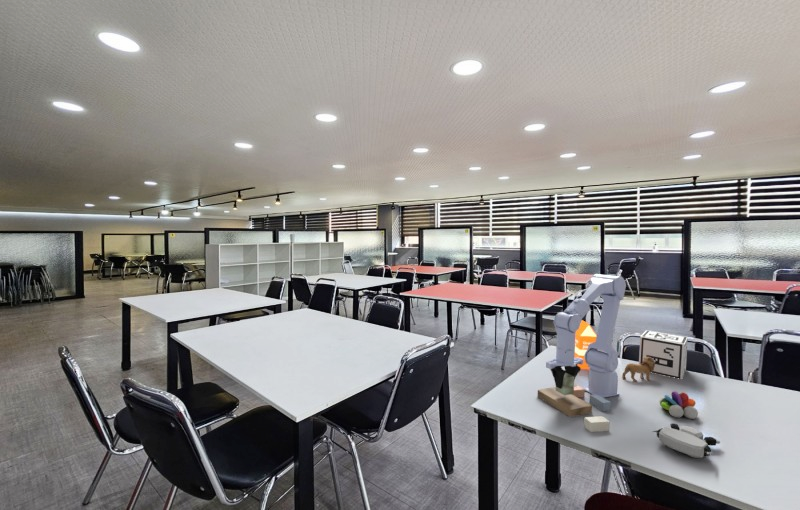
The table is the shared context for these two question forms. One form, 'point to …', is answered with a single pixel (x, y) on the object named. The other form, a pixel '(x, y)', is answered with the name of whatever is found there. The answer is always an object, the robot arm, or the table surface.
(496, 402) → the table surface
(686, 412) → the colorful egg cluster
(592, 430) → the cream brick
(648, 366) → the lion figurine
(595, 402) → the slate brick
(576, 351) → the orange juice
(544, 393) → the walnut slab
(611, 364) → the robot arm
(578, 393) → the terracotta brick
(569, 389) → the sage block
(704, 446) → the robot toy
